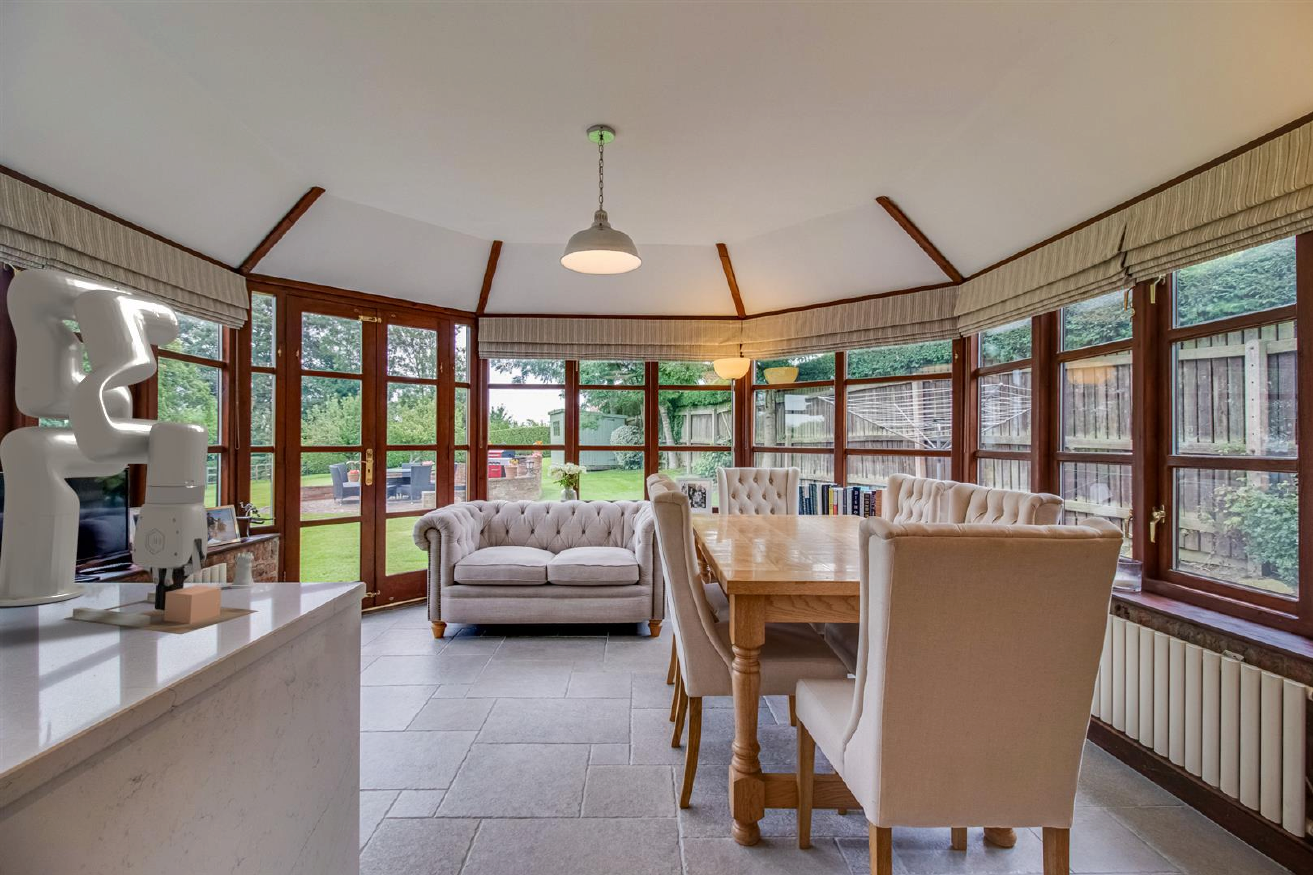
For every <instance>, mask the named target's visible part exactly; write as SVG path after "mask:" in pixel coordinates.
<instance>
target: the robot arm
mask: <svg viewBox="0 0 1313 875" xmlns="http://www.w3.org/2000/svg"><path fill="white" fill-rule="evenodd" d="M6 293H7V294H6V303H7V304H6V306H7V311H8V315H9V318H10V321H11V324H12V327H13V330H14V334H15V337H16V346H17V347H16V360H15V361H16V363H15V364H16V365H15V385H14V386H15V387H14V390H15V392H14V394H15V396H14V397H15V404H16V407H17V409H18V410H19V412H20V413H21V414H23V415H25V416H27V417H32V418H37V419H46V420H59V421H69V422H70V426H71V427H70V426H50V425H48V426H46V425H45V426H44V425H43V426H41V425H39V426H26V427H20V428H17V429H15V430H12V431H10V432H8V433H7V434H6V435H5V436H4V437H3V439H2V440H1V442H0V461H1V463H0V464H1V468H2V472H3V481H4V503H3V504H4V505H3V520H2V521H3V523H2V538H1V539H2V540H1V552H0V607H20V606H21V607H22V606H34V605H40V604H41V605H42V604H50V603H56V602H60V601H61V602H62V601H65V600H70V599H75V598H77V597H80V596H82V595H84V594H85V593H86V586H85V585H83V584H78V583H75V581H76V580H75V579H76V564H77V555H78V554H77V552H78V539H79V538H78V537H79V525H80V524H79V522H80V508H81V506H80V498H79V496H78V494H77V493H76V491H75V490H73V488H72V487H71V486H70V485H69V483H68V482H67V481H66V480H65V479H68V478H69V479H70V478H97V477H110V476H111V477H112V476H116V475H119V474H120V473H122V472H123V471H124V470H125V469H126V468H127V467H128V464H129V465H130V464H131V465H132V464H133V465H135V464H139V465H140V464H142V465H146V467H147V468H146V469H147V470H146V478H145V479H146V481H145V482H146V483H145V484H146V486H145V499H144V504H143V503H142V505H141V507H140V510H139V513H138V516H137V519H136V520H137V521H136V524H135V530H134V531H135V532H134V536H133V542H132V543H133V544H132V554H131V555H132V557H131V559H132V562H133V563H134V564H135V565H138V566H140V567H141V569H142V570H144V571H146V572H149V573H150V574H151V576H152V583H153V584H154V585H155V591H156V594H155V603H154V610H165V600H166V592H169V591H174V590H178V589H182V588H185V587H184V584H185V583H186V582H187V581H188V578H189V577H190V576H191V575H195V574H199V573H201V571H202V567H201V564H203V563H204V562H205V561H206V559H207V553H208V541H209V540H208V537H209V536H208V532H209V531H208V518H207V511H206V510H207V509H206V505H205V495H206V494H205V493H206V477H207V465H208V464H207V461H208V448H209V431H208V428H207V427H206V426H205V425H204V424H201V423H197V422H182V421H169V420H157V419H147V418H133V395H132V393H131V390H130V388H129V387H128V386H131V385H134V384H138V383H141V382H143V381H146V380H148V379H149V378H151V377H152V376H154V375H155V373H156V372H157V370H158V369H157V368H158V365H157V361H156V358H155V355H154V352H153V350H152V346H151V345H154V346H169V345H170V344H172V343H174V342H175V341H176V339H177V338H178V335H179V334H180V320H179V318H178V315H177V314H176V312H175V310H174V309H173V308H172V307H171V306H170V305H169V304H167V303H166V302H164V301H162V300H159V299H158V298H155V297H153V296H150V295H148V294H145V293H143V292H141V291H139V290H135V289H132V288H130V287H129V288H128V287H125V286H121V285H118V284H113V283H109V282H106V281H100V280H97V279H92V278H88V277H84V276H82V275H77V274H72V273H68V272H64V271H59V270H52V269H46V268H45V269H44V268H29V269H24V270H22V271H19V272H18V273H17V274H15V275H14V276H13V278H12V279H11V281H10V284H9V286H8V289H7V292H6ZM64 320H66V321H70V322H76V323H77V326H78V329H79V333H80V336H81V339H82V342H81V341H80V339H79V338H78V336H77V335H76V334H75V332H74V331H73V330H72V329H71V328H70V327H69V326H68V325H67V324H66V323H65V322H64ZM82 343H83V344H82ZM84 349H85V353H86V356H87V359H88V363H89V366H90V369H91V372H86V371H85V369H84Z"/></svg>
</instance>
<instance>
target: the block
mask: <svg viewBox="0 0 1313 875" xmlns="http://www.w3.org/2000/svg"><path fill="white" fill-rule="evenodd" d="M221 600H222V587H218V586H209V585H207V586H206V585H198V584H196V585H192V586H188V587H183V588H182V589H178V590H174V591H169V592H166V600H165V616H164V621H173V622H181V623H194V622H197V621H201V620H204V619H207V618H211V617H214V616H218V615H220V606H221Z"/></svg>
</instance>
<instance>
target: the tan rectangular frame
mask: <svg viewBox="0 0 1313 875" xmlns="http://www.w3.org/2000/svg"><path fill="white" fill-rule="evenodd" d="M155 594H156V590H154V591H150V592H149V591H148V592H147V599H144V600H143V599H142V600H140V601H139V600H138V601H135V602H129V603H126V604H122V605H121V604H120V605H118V606H112V607H109V608H105V609H98V608H89V607H82V606H79V607H75V608H72V616H69V617H64V618H63V619H64V620H72V621H75V622H77V621H79V622H83V623H91V624H92V623H93V624H101V625H106V626H107V625H108V626H113V627H115V626H116V627H124V628H130V629H138V630H146V631H152V632H153V631H154V632H161V633H169V634H177V635H184V634H187V633H191V632H194V631H198V630H200V629H201V630H202V629H204V628H208V627H211V626H213V625H217V624H220V623H223V622H228V621H231V620H234V619H237V618H240V617H244V616H247V615H250V614H254V613H256V612H259V610H255V609H254V610H253V609H246V608H245V609H244V608H236V607H227V606H221V605H220V615H218V616H214V617H211V618H207V619H204V620H201V621H197V622H194V623H181V622H173V621H164V616H165V610H157V609H153V610H150V611H149V610H148V611H145V612H142V613H130V612H121V611H115V610H116V609H120V608H124V607H128V606H133V605H137V604H143V603H149V604H155ZM113 610H114V611H113Z"/></svg>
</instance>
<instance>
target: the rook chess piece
mask: <svg viewBox="0 0 1313 875" xmlns="http://www.w3.org/2000/svg"><path fill="white" fill-rule="evenodd" d="M254 558H255V556H254V555H253V552H250V551H249V552H248V551H247V552H246V553H245V552H241V553H240V552H237V553H236V556H235V558H234V561H235V562H236V565H235V568H236V569H235V570H236V571H235V575H234V580H233V581H232V583H231V585H256V586H257V584H256V583H255V582H254V579H253V575H252V574H253V573H252V567H253V564H252V561H253V560H254ZM253 587H255V586H229V588H230V589H232V590H233V589H235V590H236V589H237V590H239V589H240V590H241V589H249V588H253Z"/></svg>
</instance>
